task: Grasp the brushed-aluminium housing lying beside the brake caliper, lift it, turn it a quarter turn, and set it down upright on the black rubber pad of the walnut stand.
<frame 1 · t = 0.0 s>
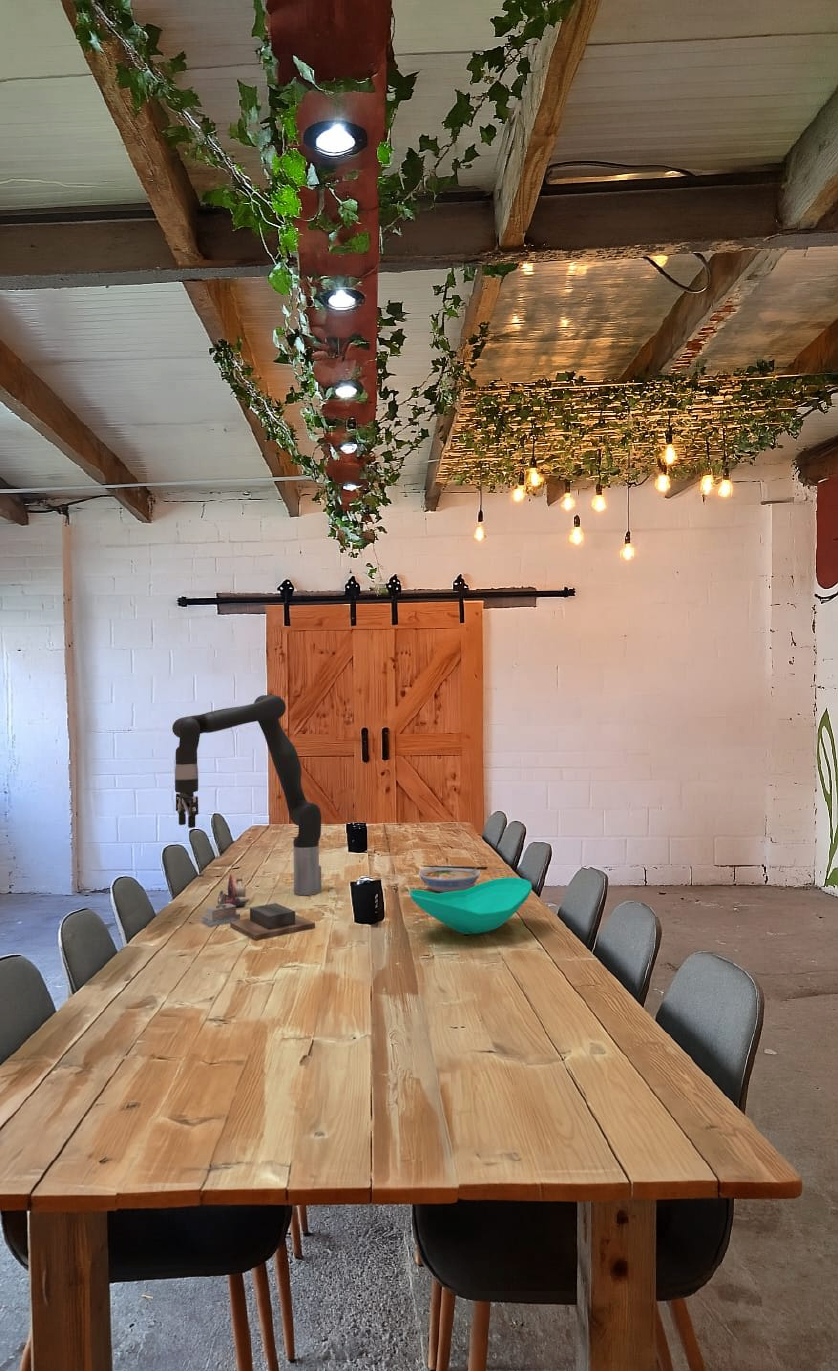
hand: (186, 826, 259), 29 cm above the table, fingers open, 8 cm apart
brake caliper: (232, 907, 268), on the table
stand: (272, 927, 242), on the table
table top decor: (472, 931, 235), on the table
ramen bowl: (449, 892, 284), on the table
housing: (221, 922, 248), on the table
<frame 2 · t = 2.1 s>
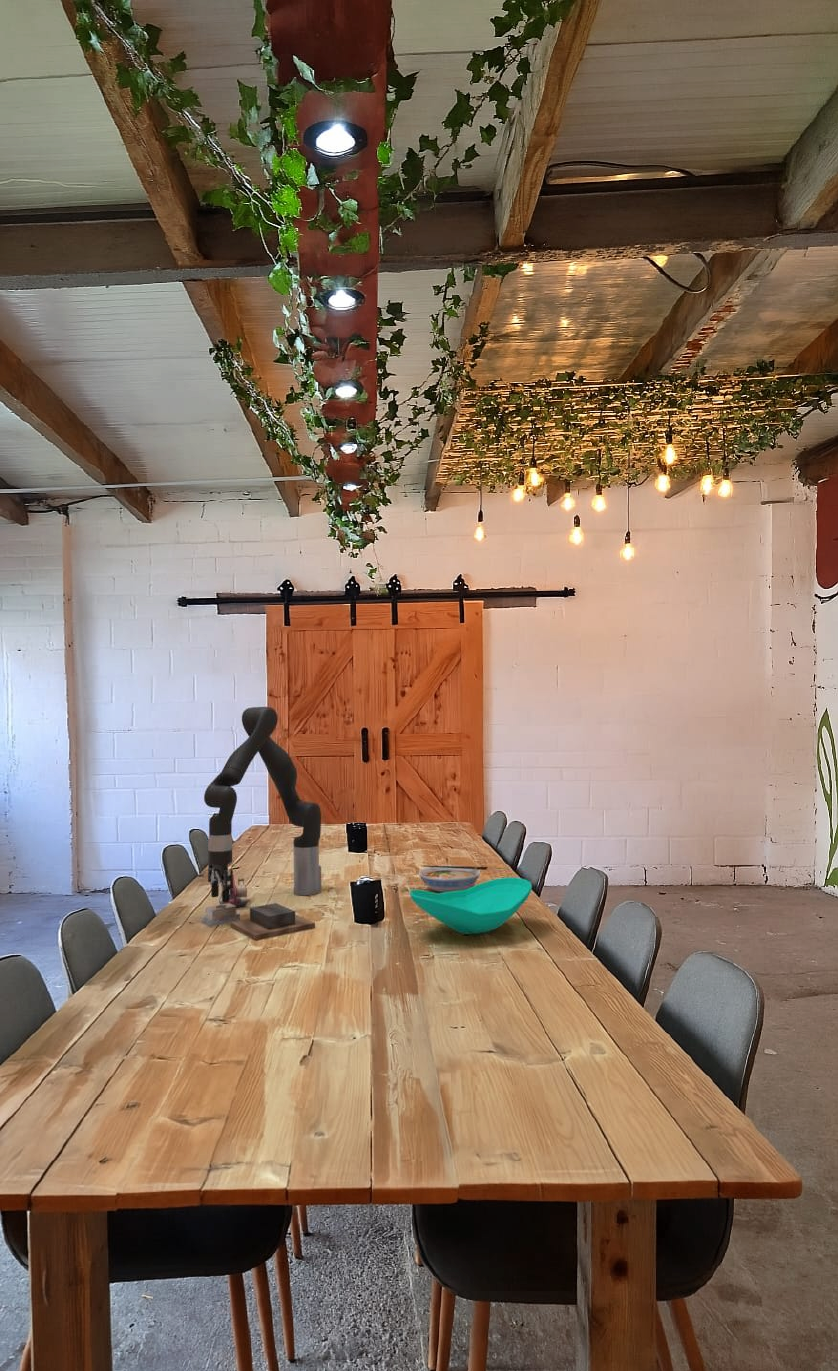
hand: (220, 899, 248), 7 cm above the table, fingers open, 8 cm apart
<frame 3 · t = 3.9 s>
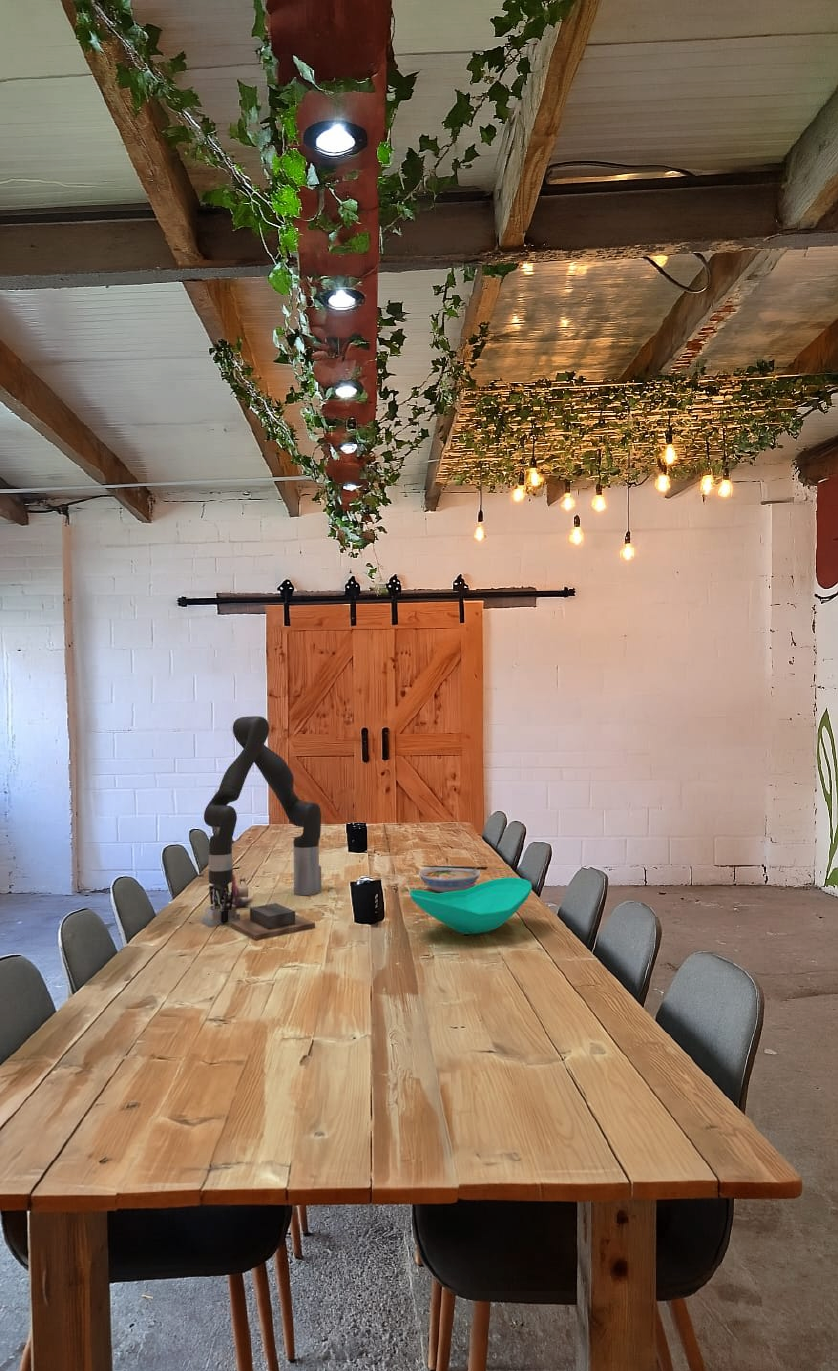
hand: (221, 920, 248), 0 cm above the table, fingers closed on housing, 5 cm apart
housing: (221, 922, 248), on the table, touching gripper
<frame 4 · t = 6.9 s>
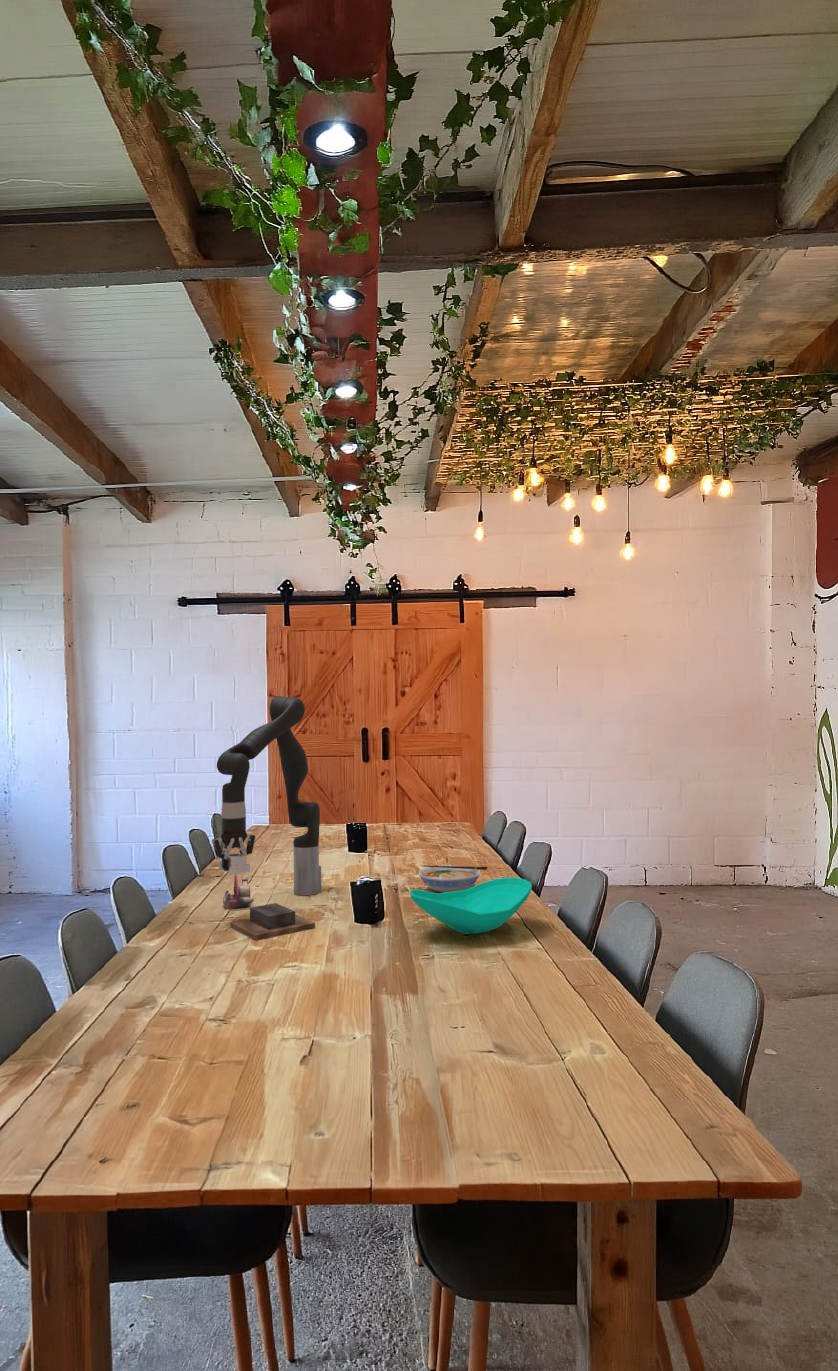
hand: (234, 869, 247), 17 cm above the table, fingers closed on housing, 5 cm apart
housing: (234, 870, 247), point 17 cm above the table, touching gripper
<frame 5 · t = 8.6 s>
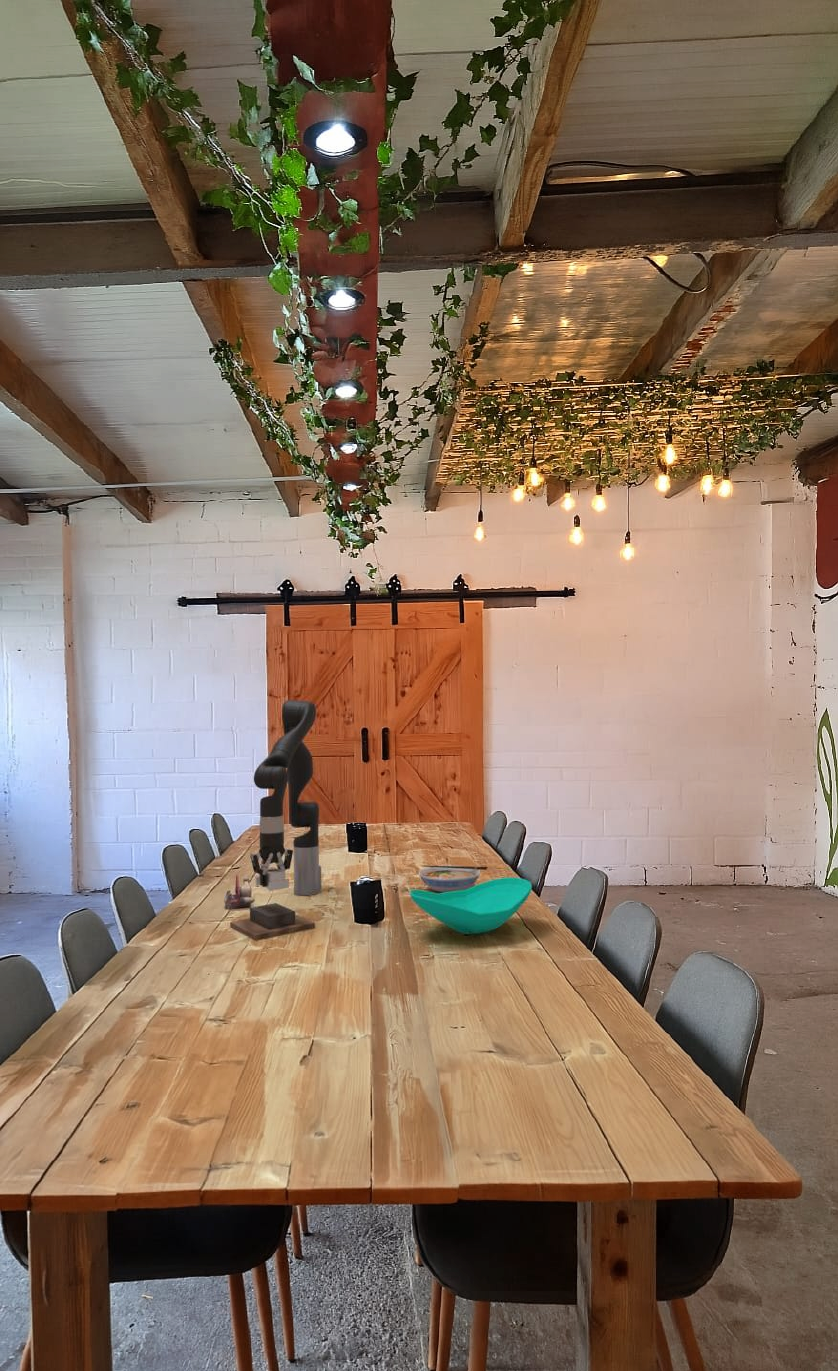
hand: (272, 884, 242), 13 cm above the table, fingers closed on housing, 5 cm apart
housing: (272, 886, 242), point 13 cm above the table, touching gripper
when the fingers open (7 cm above the table, at t = 10.0 s): housing drops 1 cm, resting on stand.
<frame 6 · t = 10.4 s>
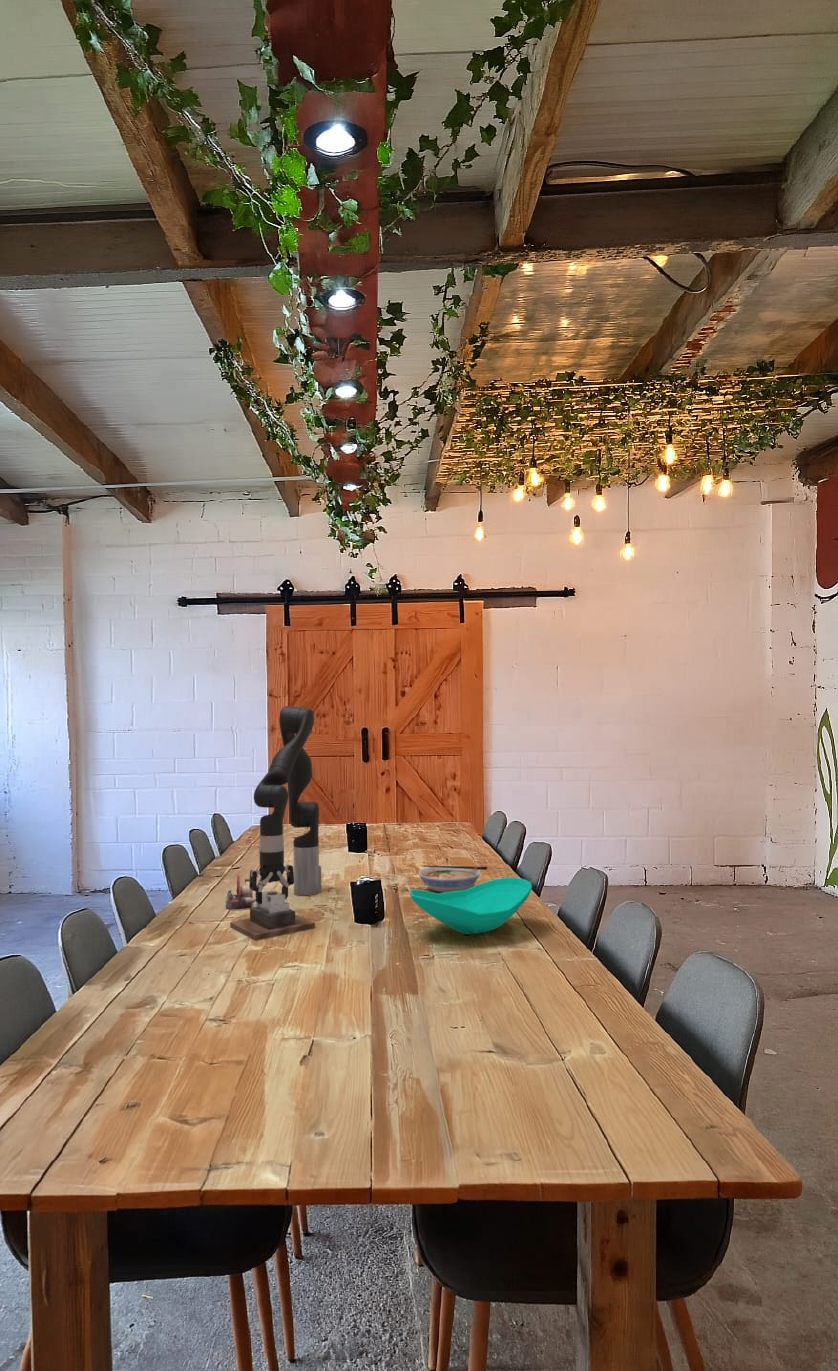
hand: (272, 901, 242), 8 cm above the table, fingers open, 8 cm apart
housing: (272, 909, 242), point 5 cm above the table, touching stand
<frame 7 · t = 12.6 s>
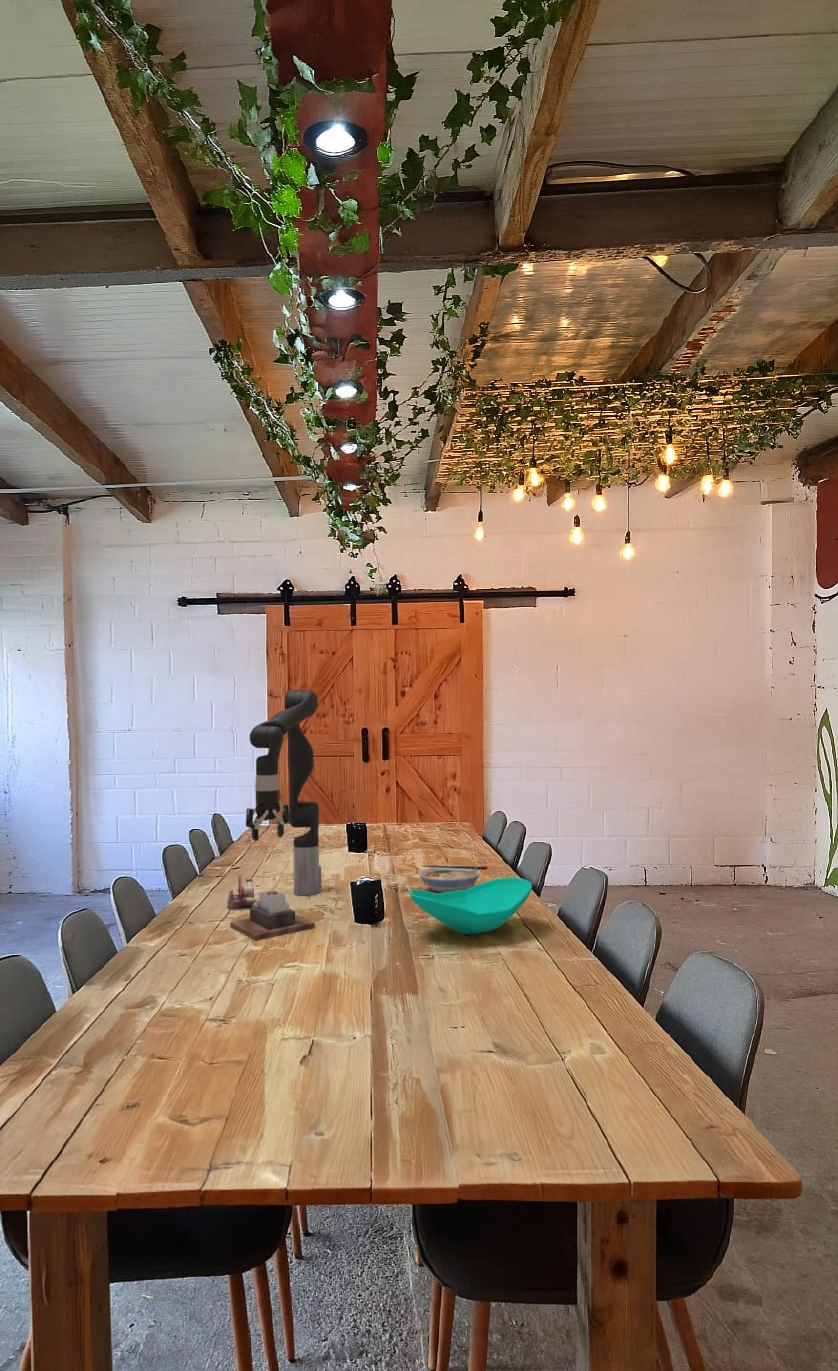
hand: (268, 838, 250), 26 cm above the table, fingers open, 8 cm apart
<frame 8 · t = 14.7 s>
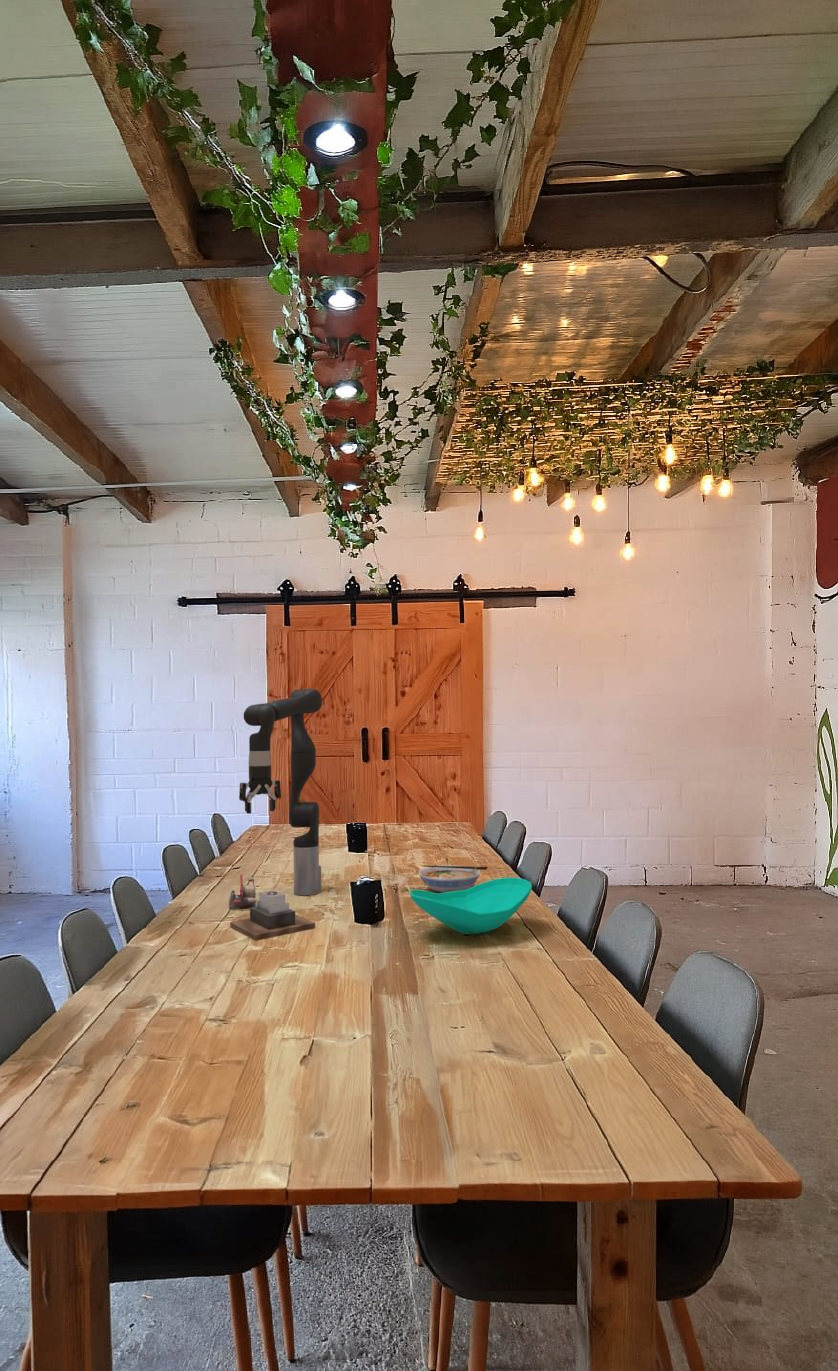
hand: (260, 812, 262), 33 cm above the table, fingers open, 8 cm apart
at the end: housing inside the target area on the stand (0.1 cm from its centre), point 5.5 cm above the stand's base; housing tilted 0°; the gripper is holding nothing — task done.
